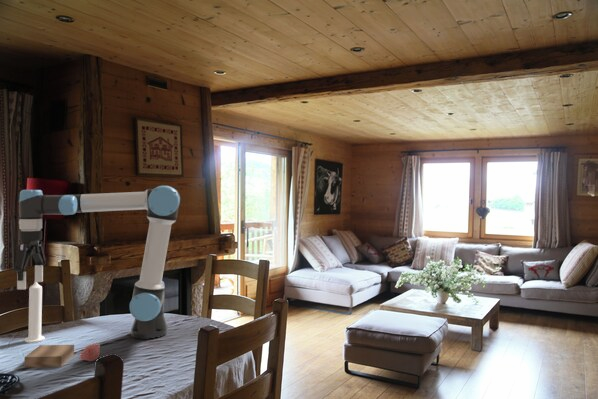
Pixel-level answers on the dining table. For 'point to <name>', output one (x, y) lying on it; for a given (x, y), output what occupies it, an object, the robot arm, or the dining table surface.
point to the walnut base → (49, 356)
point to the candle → (35, 314)
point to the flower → (90, 352)
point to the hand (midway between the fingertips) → (30, 285)
